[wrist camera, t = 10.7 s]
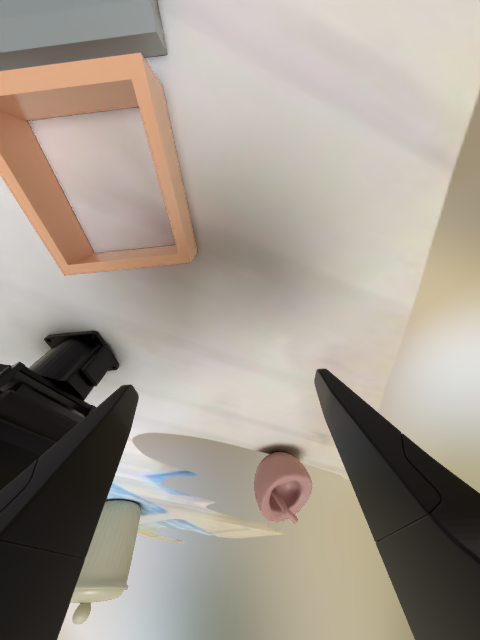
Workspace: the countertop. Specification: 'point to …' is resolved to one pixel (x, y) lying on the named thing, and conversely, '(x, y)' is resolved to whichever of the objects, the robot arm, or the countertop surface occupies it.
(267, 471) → the mortar and pestle
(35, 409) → the robot arm
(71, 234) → the holder
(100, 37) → the tray
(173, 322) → the countertop surface
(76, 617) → the canister
